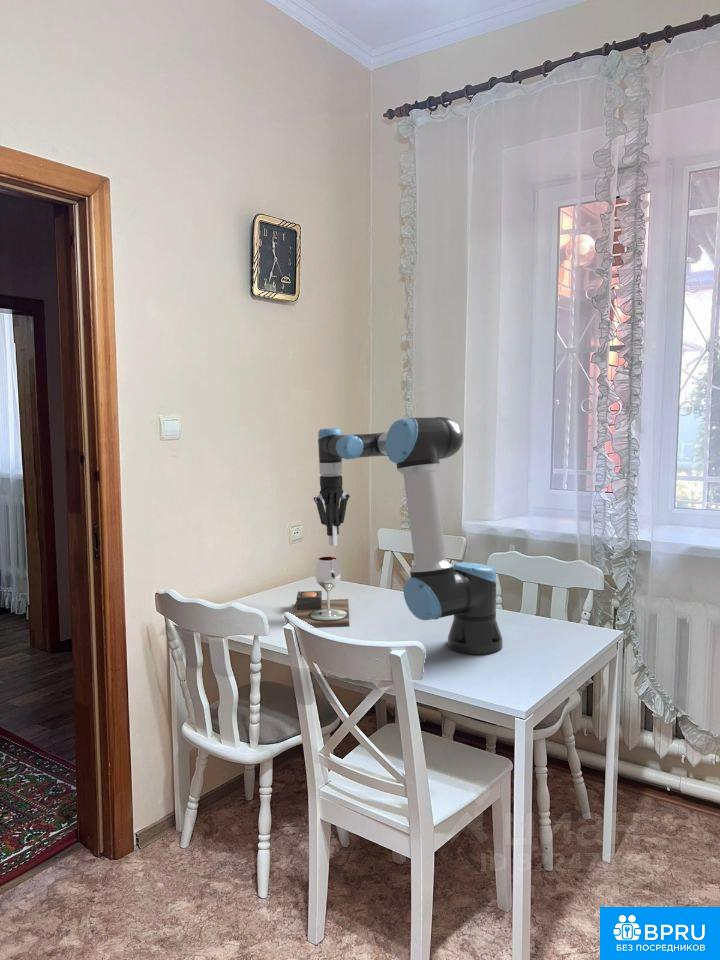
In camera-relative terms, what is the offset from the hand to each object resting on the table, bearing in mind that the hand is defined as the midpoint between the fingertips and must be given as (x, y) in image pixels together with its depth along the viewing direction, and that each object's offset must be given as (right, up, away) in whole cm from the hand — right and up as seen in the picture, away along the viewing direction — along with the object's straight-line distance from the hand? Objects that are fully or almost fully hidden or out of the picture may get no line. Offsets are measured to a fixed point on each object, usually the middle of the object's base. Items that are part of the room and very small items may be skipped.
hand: (333, 545), depth 240 cm
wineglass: (-1, -21, -11) cm, 24 cm away
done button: (-8, -19, -1) cm, 21 cm away
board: (-4, -22, -6) cm, 23 cm away
